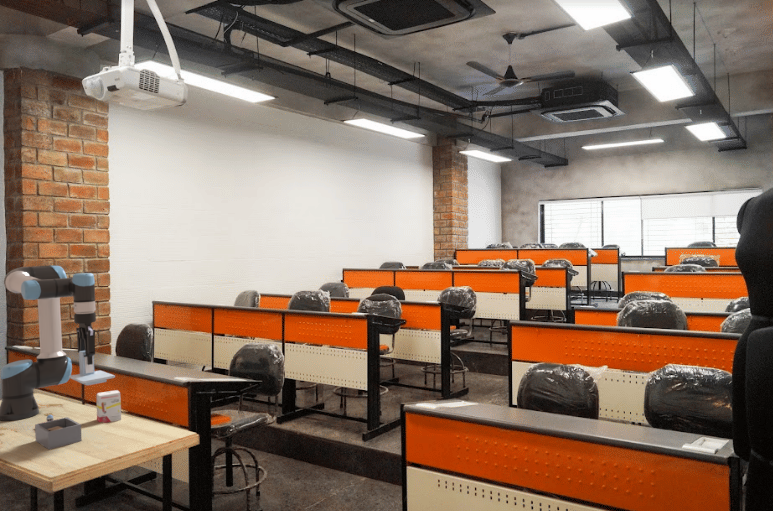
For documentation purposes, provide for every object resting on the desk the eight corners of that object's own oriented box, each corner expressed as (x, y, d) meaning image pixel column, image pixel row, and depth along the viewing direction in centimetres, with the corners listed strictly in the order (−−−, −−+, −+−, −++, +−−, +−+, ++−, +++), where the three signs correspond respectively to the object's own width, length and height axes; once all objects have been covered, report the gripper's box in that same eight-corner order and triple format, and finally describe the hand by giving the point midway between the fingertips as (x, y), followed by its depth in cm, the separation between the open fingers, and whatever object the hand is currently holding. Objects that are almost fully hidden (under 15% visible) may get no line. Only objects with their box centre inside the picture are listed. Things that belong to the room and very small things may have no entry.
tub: (35, 443, 213) (34, 424, 213) (67, 435, 221) (66, 417, 221) (48, 451, 204) (48, 432, 203) (81, 443, 212) (80, 424, 212)
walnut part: (47, 439, 214) (46, 429, 214) (57, 436, 217) (57, 426, 217) (52, 441, 212) (52, 430, 212) (63, 438, 215) (63, 427, 215)
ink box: (99, 424, 234) (98, 395, 233) (96, 421, 238) (95, 393, 237) (121, 420, 239) (120, 392, 238) (119, 417, 243) (118, 389, 242)
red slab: (63, 430, 228) (62, 414, 228) (44, 434, 223) (43, 418, 223) (56, 426, 233) (56, 411, 233) (38, 430, 228) (37, 415, 228)
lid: (69, 381, 221) (68, 352, 221) (100, 376, 230) (99, 348, 230) (83, 387, 211) (81, 357, 211) (115, 381, 220) (114, 352, 220)
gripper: (66, 312, 226) (69, 370, 227) (82, 315, 215) (85, 376, 215) (86, 310, 232) (89, 367, 233) (103, 312, 220) (105, 373, 221)
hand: (87, 371), depth 224 cm, fingers closed on lid, 4 cm apart
